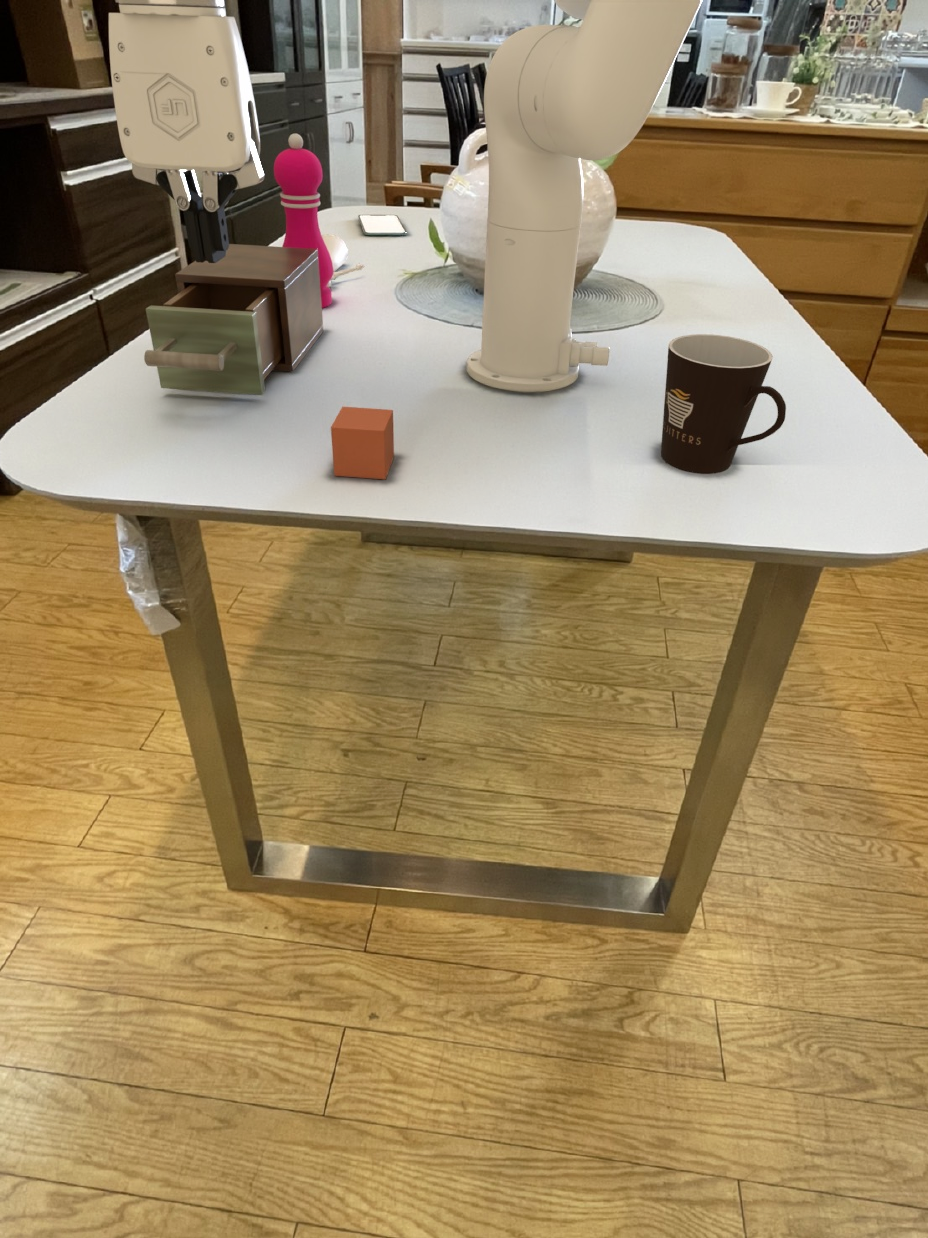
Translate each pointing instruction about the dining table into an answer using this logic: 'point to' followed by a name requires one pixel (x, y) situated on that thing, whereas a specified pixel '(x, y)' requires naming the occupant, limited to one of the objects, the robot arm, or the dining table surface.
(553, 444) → the dining table surface
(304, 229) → the pepper mill
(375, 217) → the smartphone
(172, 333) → the drawer
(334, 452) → the block
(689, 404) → the coffee mug
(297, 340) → the cabinet
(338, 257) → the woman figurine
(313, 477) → the dining table surface
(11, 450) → the dining table surface
